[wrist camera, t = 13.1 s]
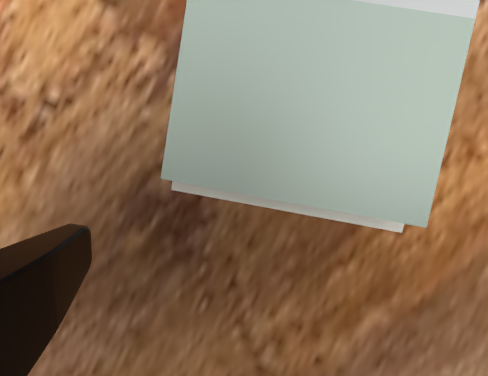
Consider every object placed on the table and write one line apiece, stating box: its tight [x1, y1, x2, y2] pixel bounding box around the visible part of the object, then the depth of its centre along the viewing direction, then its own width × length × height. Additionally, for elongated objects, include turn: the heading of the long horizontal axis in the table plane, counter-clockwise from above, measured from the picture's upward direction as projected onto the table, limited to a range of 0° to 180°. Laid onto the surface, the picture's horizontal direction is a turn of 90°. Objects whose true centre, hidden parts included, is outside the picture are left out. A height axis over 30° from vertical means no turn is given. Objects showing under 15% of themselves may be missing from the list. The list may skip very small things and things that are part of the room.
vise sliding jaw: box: [160, 0, 479, 228], centre depth 17 cm, size 8×10×4 cm
